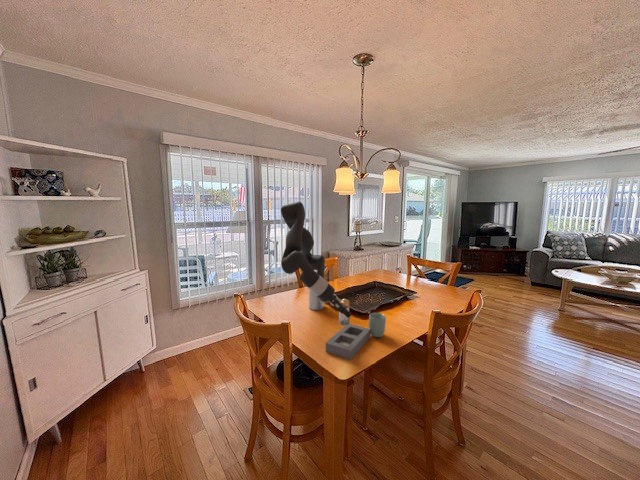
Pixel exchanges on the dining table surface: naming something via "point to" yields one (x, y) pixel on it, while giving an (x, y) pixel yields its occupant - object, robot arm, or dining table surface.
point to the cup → (377, 324)
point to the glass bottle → (342, 318)
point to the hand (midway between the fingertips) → (348, 313)
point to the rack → (348, 341)
